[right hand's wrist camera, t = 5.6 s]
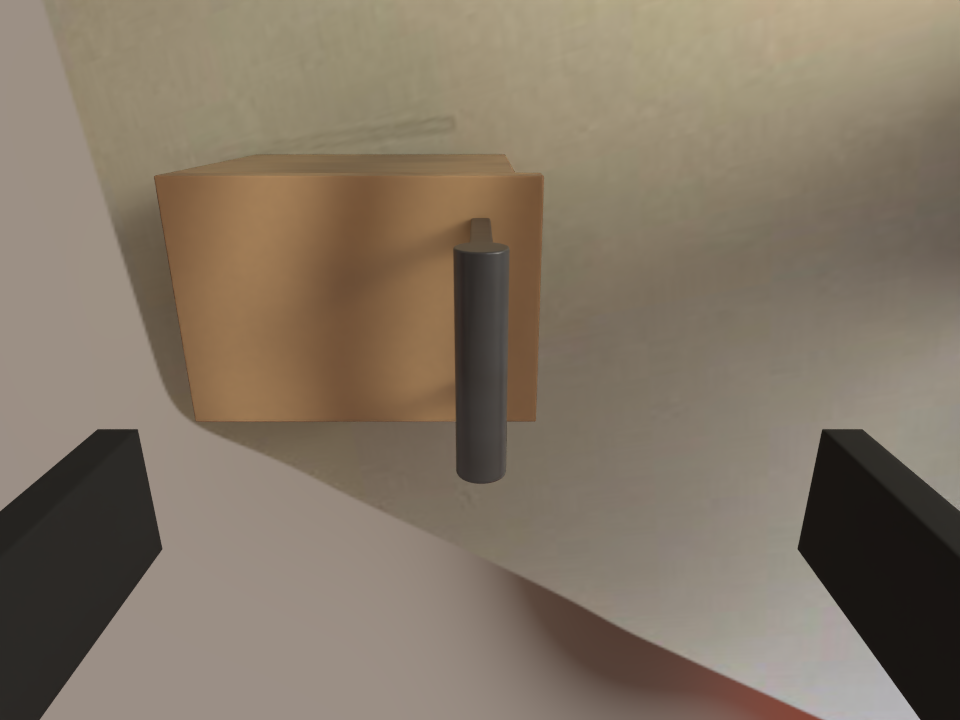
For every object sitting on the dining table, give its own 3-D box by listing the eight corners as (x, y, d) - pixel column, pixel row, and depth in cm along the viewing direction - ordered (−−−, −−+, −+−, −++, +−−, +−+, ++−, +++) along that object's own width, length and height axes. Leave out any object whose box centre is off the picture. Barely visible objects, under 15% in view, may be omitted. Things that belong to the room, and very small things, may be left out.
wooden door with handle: (541, 172, 24) (569, 201, 17) (533, 409, 28) (554, 521, 20) (167, 172, 24) (29, 201, 17) (205, 410, 28) (105, 521, 20)
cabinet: (505, 154, 34) (516, 172, 24) (503, 332, 37) (511, 409, 28) (255, 154, 34) (168, 172, 24) (275, 332, 37) (206, 409, 28)
